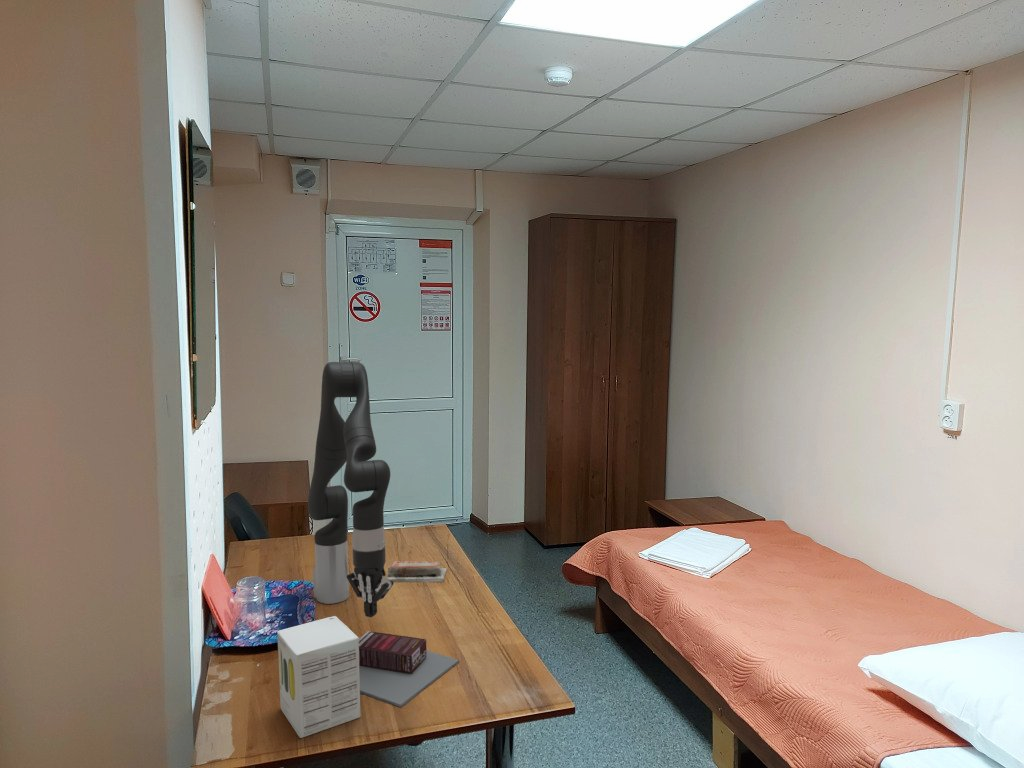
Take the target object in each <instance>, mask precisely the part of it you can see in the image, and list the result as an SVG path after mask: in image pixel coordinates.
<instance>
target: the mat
mask: <svg viewBox="0 0 1024 768" xmlns="http://www.w3.org/2000/svg"><path fill="white" fill-rule="evenodd" d="M426 652H427V653H426V658H425V659H424V660H423V661H422V662H421V664H420V665H419V666H418V667H417V668H416V669H415V670H414V672H413V673H412V674H410V673H404V672H398V671H391V670H385V669H379V668H373V667H366V666H360V665H359V678H360V694H362V695H365V696H368V697H370V698H374V699H375V700H378V701H381V702H385V703H388V704H389V705H393V706H396V707H398V708H402V707H403V706H404V705H406V704H408V703H409V702H410V701H411V700H412V699H414V698H415V697H416V696H417V695H419V694H420V693H422V692H423V691H424V690H425V689H427V688H428V687H429V686H430V685H432V684H433V683H434V682H436V681H437V680H439V678H441V677H442V676H444V675H445V674H446V673H447V672H449V671H450V670H451V669H452V668H454V667H455V666H456V665H458V664H459V663H460V659H457V658H454V657H451V656H447V655H443V654H440V653H437V652H434V651H430V650H427V649H426ZM458 662H459V663H458ZM457 663H458V664H457ZM455 664H456V665H455ZM454 665H455V666H454ZM453 666H454V667H453ZM450 668H451V669H450ZM449 669H450V670H449ZM445 672H446V673H445ZM444 673H445V674H444ZM435 680H436V681H435Z"/></svg>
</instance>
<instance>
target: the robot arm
mask: <svg viewBox="0 0 1024 768" xmlns="http://www.w3.org/2000/svg"><path fill="white" fill-rule="evenodd" d="M321 376H322V377H321V393H320V394H321V395H320V396H321V397H320V413H319V414H320V415H319V421H318V422H319V423H318V429H317V435H316V441H315V442H316V443H315V454H314V463H313V464H314V465H313V472H312V478H311V481H310V482H311V483H310V487H309V490H308V496H307V512H308V515H309V517H310V519H312V520H313V521H325V520H330V519H331V521H330V522H328V523H327V524H326V525H324V526H323V527H321V528H319V529H318V530H317V531H315V533H314V558H315V565H314V566H312V571H313V574H312V577H313V580H312V581H313V599H316V601H317V602H319V603H321V604H327V605H330V604H331V605H332V604H339V603H341V602H344V601H346V600H347V599H348V598H349V596H350V592H349V591H350V590H349V589H350V586H351V588H352V590H353V592H354V594H355V595H356V597H357V598H361V599H362V602H363V613H364V616H365V617H367V618H373V617H375V616H376V614H378V602H379V601H380V600H382V599H384V598H385V597H386V596H387V594H388V593H389V591H390V590H391V588H392V587H393V586H394V583H395V582H393V581H392V580H390V581H389V580H388V579H387V576H386V571H385V564H386V562H387V561H386V560H387V559H386V533H385V527H384V524H385V523H384V522H385V521H384V505H385V501H386V495H387V493H388V492H387V491H388V488H389V485H390V480H391V468H390V465H389V464H388V463H387V462H386V461H385V460H383V459H373V460H372V458H374V457H375V455H376V454H377V444H376V440H375V437H374V436H375V435H374V431H373V428H372V420H371V405H370V404H371V403H370V402H371V401H370V392H369V391H370V390H369V379H368V373H367V370H366V367H365V365H364V364H363V363H362V362H357V361H330V362H327V363H326V364H325V365H324V366H323V370H322V375H321ZM336 398H356V402H355V405H354V406H353V408H352V409H351V412H350V413H349V414H348V416H347V418H346V420H344V418H343V417H342V416H341V414H340V412H339V410H338V408H337V406H336V404H335V400H336ZM343 466H345V468H344V474H343V483H344V486H345V487H344V486H343V485H330V486H328V485H329V484H330V481H331V480H332V479H333V478H334V476H336V474H337V473H338V472H339V471H340V470H341V469H342V467H343ZM346 489H347V490H348V491H349V492H351V493H365V492H372V493H371V494H370V495H369V496H368V497H366V498H364V499H361V500H358V501H356V502H355V503H354V504H353V505H352V527H353V528H352V542H351V543H352V564H353V566H354V569H353V571H352V572H351V573H349V551H348V530H349V529H348V524H349V523H348V518H349V517H348V515H349V514H348V512H349V499H348V498H349V497H348V492H347V490H346ZM349 584H350V586H349Z"/></svg>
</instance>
